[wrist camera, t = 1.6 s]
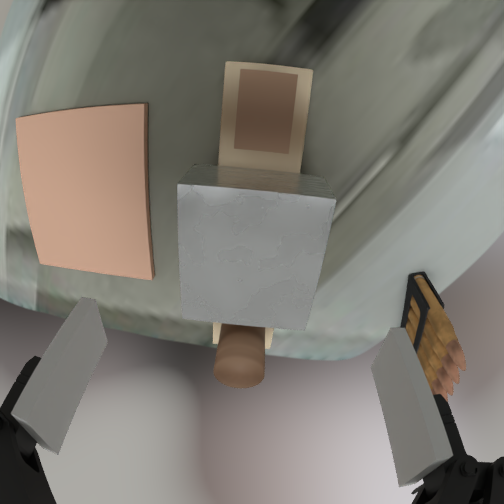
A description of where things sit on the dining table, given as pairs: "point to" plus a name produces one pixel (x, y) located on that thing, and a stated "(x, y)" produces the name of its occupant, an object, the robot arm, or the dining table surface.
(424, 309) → the ammunition clip
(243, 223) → the brushed metal block
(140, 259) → the mat
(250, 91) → the wooden peg stand
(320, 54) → the dining table surface
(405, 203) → the dining table surface
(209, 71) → the dining table surface
